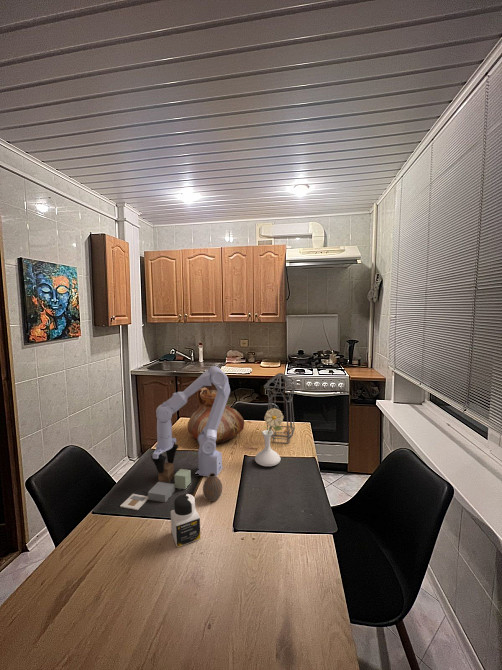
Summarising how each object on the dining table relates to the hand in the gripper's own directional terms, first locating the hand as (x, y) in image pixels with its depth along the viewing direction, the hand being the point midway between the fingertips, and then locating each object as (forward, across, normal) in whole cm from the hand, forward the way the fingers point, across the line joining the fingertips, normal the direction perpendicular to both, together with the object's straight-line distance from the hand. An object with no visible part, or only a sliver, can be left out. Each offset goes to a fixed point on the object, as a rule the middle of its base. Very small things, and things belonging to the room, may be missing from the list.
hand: (165, 467), depth 121 cm
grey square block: (+5, +10, +4) cm, 12 cm away
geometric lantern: (+5, -47, +39) cm, 61 cm away
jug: (+5, -42, +5) cm, 43 cm away
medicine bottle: (+5, +26, +22) cm, 34 cm away
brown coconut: (+5, +7, +23) cm, 25 cm away
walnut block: (+5, 0, 0) cm, 5 cm away
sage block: (+5, +3, +9) cm, 11 cm away
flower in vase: (+5, -22, +38) cm, 44 cm away
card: (+5, +16, -3) cm, 17 cm away
